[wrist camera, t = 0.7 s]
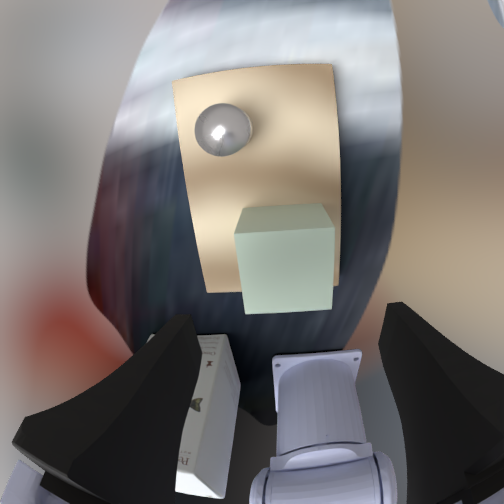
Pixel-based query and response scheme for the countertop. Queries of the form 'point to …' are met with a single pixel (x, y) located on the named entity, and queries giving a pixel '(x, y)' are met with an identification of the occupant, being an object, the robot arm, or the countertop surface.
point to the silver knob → (223, 129)
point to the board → (259, 155)
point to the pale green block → (285, 258)
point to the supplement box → (209, 422)
